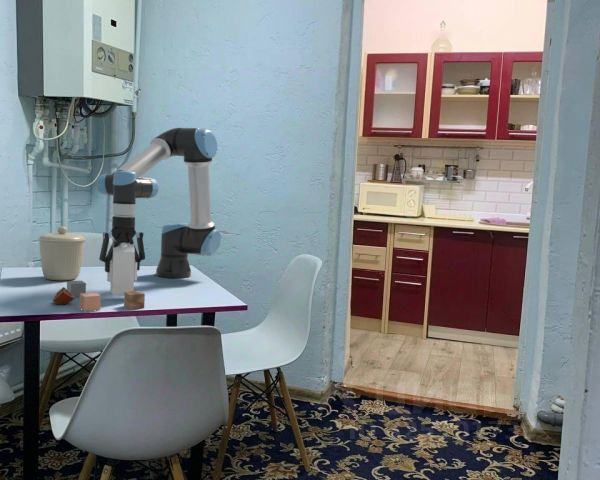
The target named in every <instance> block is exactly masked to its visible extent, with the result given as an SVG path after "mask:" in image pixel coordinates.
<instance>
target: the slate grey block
mask: <svg viewBox="0 0 600 480" xmlns="http://www.w3.org/2000/svg"><path fill="white" fill-rule="evenodd" d="M66 289H67V290H68V291H69V292H71V293H72V294H73V295H74V297H76V298H80V293H87V292H86V291H87V283H86V282H85V281H83V279H82V280H66Z"/></svg>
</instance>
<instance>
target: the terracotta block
mask: <svg viewBox="0 0 600 480" xmlns="http://www.w3.org/2000/svg"><path fill="white" fill-rule="evenodd" d="M78 301H79V303H78V304H79V305H78V307H79V308H80V309H79V310H81V309H82V310H83V311H82V310H81V311H82V312H84V311H89V312H95V311H94V310H100V311H101V295H100V294H99V293H97V292H86V293H80V297H79V300H78Z"/></svg>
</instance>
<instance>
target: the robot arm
mask: <svg viewBox="0 0 600 480" xmlns="http://www.w3.org/2000/svg"><path fill="white" fill-rule="evenodd" d="M217 152H218V141H217V137H216V136H215V134H214V132H213V131H212V130H209V129H208V128H201V127H198V128H197V127H174V128H170V129H168V130H166V131H164V132H163V133H159V135H157V136H156V137H154V138H153V139H152V140H151V141H150V142H149V145H148V146H147V147H145V148H144V149H143V150H141V151H139V152H138V153H137V154H136V155H135V156H134V157H132V158H131V159H129V160H128V161H126V163H124V164H123V165H122V166H120V167H119V168H118V169H116V170H115V171H113V172H112V173H111V174H109V173H105V174H101V175H99V176H98V178H97V181H96V187H97V191H98V192H99V193H100V194H102V195H106V196H112V215H113V216H112V220H111V221H112V222H111V223H112V224H111V227H112V228H111V230H110V231H108V232H105V231H103V232H102V239H103V240H102V244H101V248H100V249H101V250H100V255H99V261H101V262H103V263H104V271H105V272H106V273H107V276H106V277H107V278H106V281H108V283H111V282H112V267H113V263H111V260H112V257H113V248H115V247H118V245H119V244H120V243H124V242H125V243H129V242H130V244H134V249H135V261H134V281H137V280H138V271H140V268H141V267H140V266H141V262H142V261H144V260H146V253H145V246H144V241H143V238H144V232H142V231H136V229H135V227H136V217H135V215H136V201H137V199H147V200H148V199H151V198H154V197H156V196H157V195H158V193H159V187H160V186H159V183H158V181H157V180H156V179H155V178H153V177H149V176H144V175H145V174H146V173H148V172H149V171H150V170H152V169H153V168H154V167H156V166H157V165H158V164H159V163H161V162H162V161H166V160H168V159H169V158H171V157H176V156H177V157H183V162H184V163H185V164H186V165H187V171H188V172H187V174H188V175H187V177H188V189H189V190H188V191H189V210H190V222H189V223H188V222H186V223H185V222H183V223H169V224H164V225H162V230H161V234H160V235H161V238H160V239H161V240H160V241H161V245H160V259H159V261H158V264H157V267H156V269H155V276H156V277H161V278H169V279H184V277H185V278H188V277H189V276H190V277H191V276H192V275H191V274H192V271H191V267H190V263H189V259H188V257H189V256H188V255H196V256H197V255H198V256H201V257H206V256H207V257H212V256H214V255H215V254H216V253H217V252H218V250H219V248H220V246H221V243H222V235H221V232H220V230H218V229H216V223H215V222H214V221H212V209H211V187H210V185H211V184H210V167H209V166H210V164H211V163H213V158H214V157H216V155H217ZM143 176H144V177H143ZM111 237H112V239H115V240H116V242H114V243H112V242H111V245H110V247H109V243H110V239H111ZM134 237H135V238H136V244H137V247H136V246H135V241H134V242H133V239H134ZM108 247H109V250H108ZM137 250H138V251H137ZM190 277H189V278H190Z"/></svg>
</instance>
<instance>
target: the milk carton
mask: <svg viewBox="0 0 600 480" xmlns="http://www.w3.org/2000/svg"><path fill="white" fill-rule="evenodd" d="M132 239H133V242H134V244H130V242H129V243H125V242H124V243H120V244H119V245H118V247H115V248H113V257H112V260H111V263H113V267H112V282H110V288H109V289H110V292H111V295H113V296H115V295H124V293H125V292H128V291H135V289H134V288H135V280H134V261H135V249H134V245H135V239H134V238H132ZM114 242H116V240H115V239H114V238H112V242H111V244H112V243H114Z"/></svg>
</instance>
